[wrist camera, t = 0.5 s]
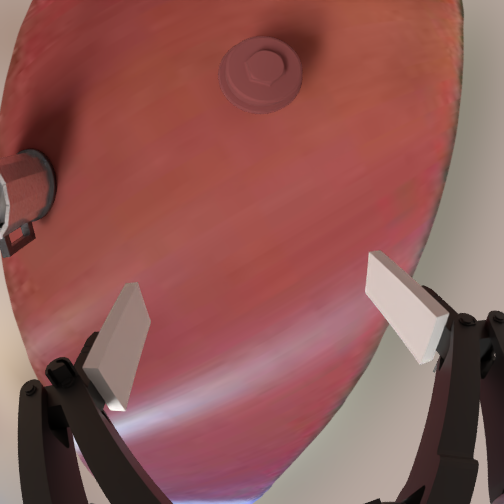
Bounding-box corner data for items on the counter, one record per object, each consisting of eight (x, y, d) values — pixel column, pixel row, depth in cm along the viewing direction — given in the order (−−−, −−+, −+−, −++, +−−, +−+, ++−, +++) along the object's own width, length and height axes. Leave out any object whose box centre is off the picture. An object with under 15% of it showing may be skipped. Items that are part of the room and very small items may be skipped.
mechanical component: (254, 44, 33) (301, 89, 36) (205, 86, 35) (253, 131, 38) (266, 11, 21) (330, 72, 25) (197, 65, 24) (265, 128, 27)
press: (3, 159, 34) (-41, 172, 22) (50, 140, 34) (4, 146, 23) (19, 237, 40) (-20, 264, 28) (66, 227, 40) (27, 257, 29)
